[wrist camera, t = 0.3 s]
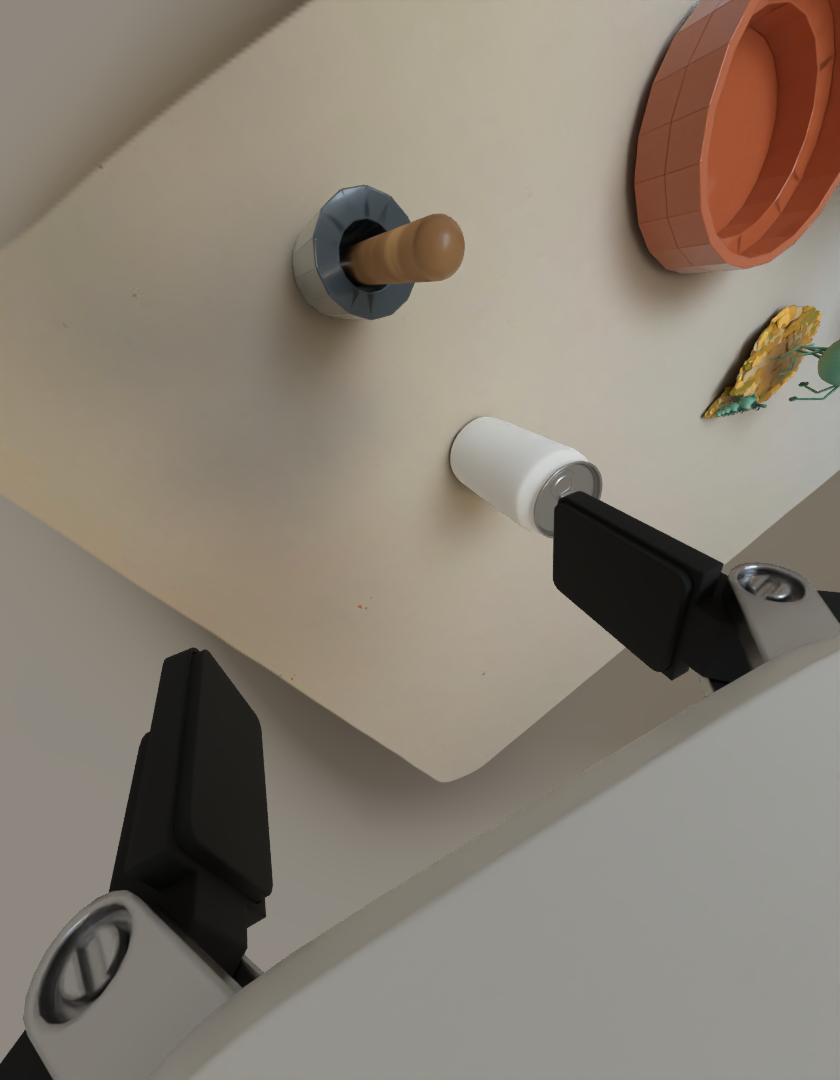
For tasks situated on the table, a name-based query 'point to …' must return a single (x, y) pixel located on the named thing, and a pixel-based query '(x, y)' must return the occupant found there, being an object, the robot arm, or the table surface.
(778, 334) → the insect on leaf figurine
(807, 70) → the bowl
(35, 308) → the table surface
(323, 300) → the utensil pot
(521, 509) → the can
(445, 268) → the stick
